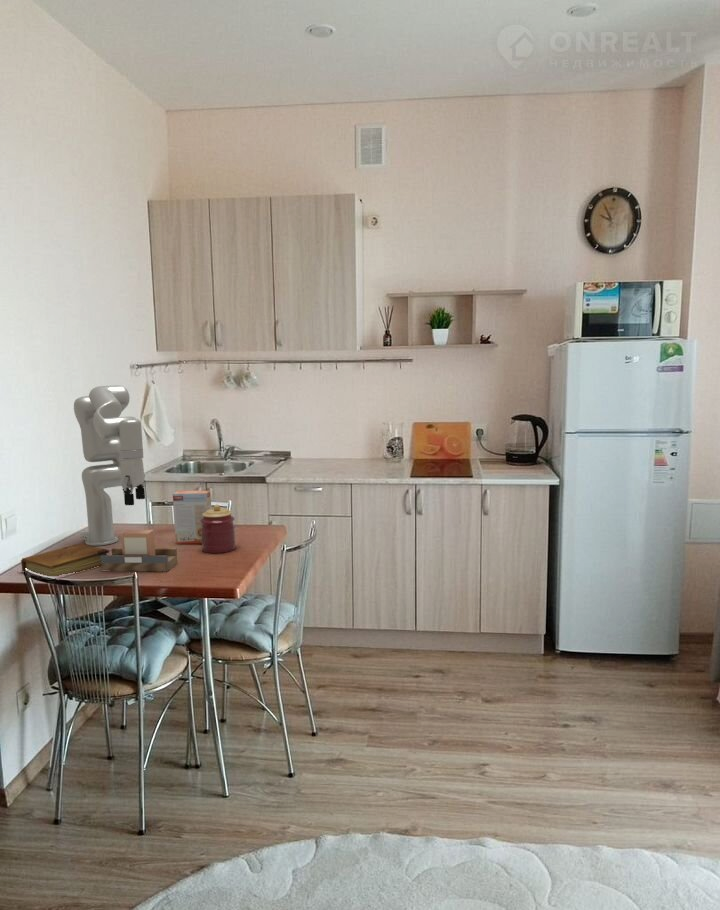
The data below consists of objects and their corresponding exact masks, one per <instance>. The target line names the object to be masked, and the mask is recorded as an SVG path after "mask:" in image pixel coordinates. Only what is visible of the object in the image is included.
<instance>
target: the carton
mask: <svg viewBox="0 0 720 910" xmlns="http://www.w3.org/2000/svg"><path fill="white" fill-rule="evenodd" d="M154 530H155V529H126V530H124V531H123V532H121V533H120V536H121V548H122V552H123V555H155V548H156V543H155V531H154Z"/></svg>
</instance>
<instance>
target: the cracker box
mask: <svg viewBox="0 0 720 910" xmlns="http://www.w3.org/2000/svg"><path fill="white" fill-rule="evenodd" d="M211 496H212V495H211V490H176V491H175V492H173V493H172V503H173V504H172V505H173V520H174V534H175V535H174V536H175V544H176V545H177V544H178V545H186V544H190V545H191V544H201V545H202V532H201V528H202V523H201V522H200V520H201V519H202V518H203V517H204V516H202V514H203V513H204V512H206V511H207V510H209V509H212V497H211Z"/></svg>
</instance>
